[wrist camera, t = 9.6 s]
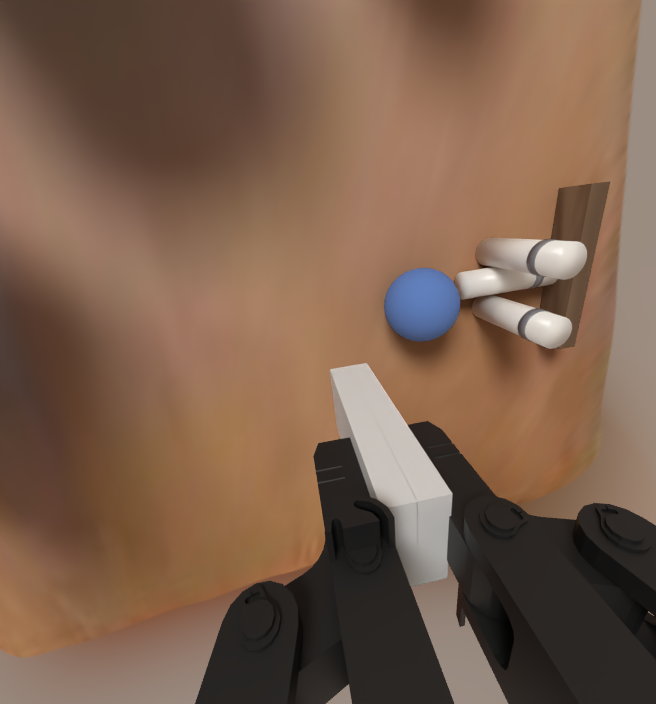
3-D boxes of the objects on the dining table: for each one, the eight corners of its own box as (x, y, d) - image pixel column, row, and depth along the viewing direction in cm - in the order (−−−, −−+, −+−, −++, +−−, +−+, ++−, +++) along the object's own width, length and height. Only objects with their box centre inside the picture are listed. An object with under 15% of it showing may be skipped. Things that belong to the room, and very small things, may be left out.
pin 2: (470, 319, 30) (537, 352, 22) (472, 294, 29) (543, 319, 21) (494, 315, 30) (569, 346, 22) (496, 290, 29) (575, 313, 22)
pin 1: (473, 267, 28) (549, 282, 20) (476, 238, 27) (556, 243, 19) (499, 263, 28) (583, 277, 21) (502, 235, 27) (591, 238, 20)
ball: (468, 337, 26) (409, 320, 31) (479, 266, 24) (414, 258, 28) (429, 361, 23) (369, 339, 27) (437, 282, 20) (369, 271, 24)
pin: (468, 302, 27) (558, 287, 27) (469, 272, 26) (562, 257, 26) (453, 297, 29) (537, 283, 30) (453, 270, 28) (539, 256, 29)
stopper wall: (535, 338, 32) (559, 349, 29) (559, 188, 27) (591, 183, 24) (549, 336, 32) (574, 346, 29) (576, 186, 27) (610, 181, 24)
